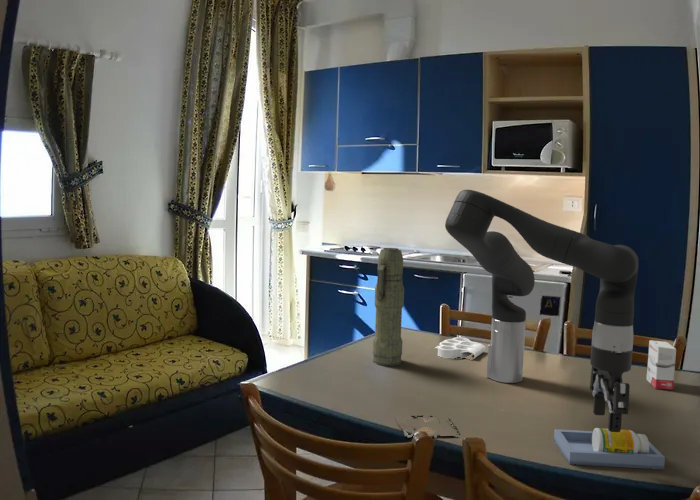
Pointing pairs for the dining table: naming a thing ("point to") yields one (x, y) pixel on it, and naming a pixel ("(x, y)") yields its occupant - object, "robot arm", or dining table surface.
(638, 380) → the dining table surface
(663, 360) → the ink box
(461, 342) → the white holder with holes
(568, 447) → the tray
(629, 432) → the supplement bottle
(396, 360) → the thermos
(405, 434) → the parchment
